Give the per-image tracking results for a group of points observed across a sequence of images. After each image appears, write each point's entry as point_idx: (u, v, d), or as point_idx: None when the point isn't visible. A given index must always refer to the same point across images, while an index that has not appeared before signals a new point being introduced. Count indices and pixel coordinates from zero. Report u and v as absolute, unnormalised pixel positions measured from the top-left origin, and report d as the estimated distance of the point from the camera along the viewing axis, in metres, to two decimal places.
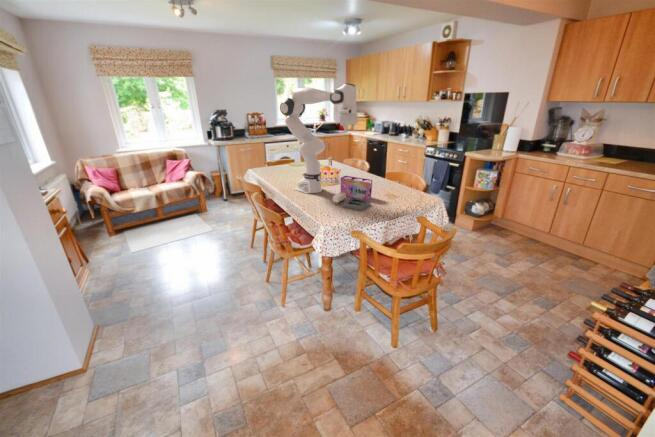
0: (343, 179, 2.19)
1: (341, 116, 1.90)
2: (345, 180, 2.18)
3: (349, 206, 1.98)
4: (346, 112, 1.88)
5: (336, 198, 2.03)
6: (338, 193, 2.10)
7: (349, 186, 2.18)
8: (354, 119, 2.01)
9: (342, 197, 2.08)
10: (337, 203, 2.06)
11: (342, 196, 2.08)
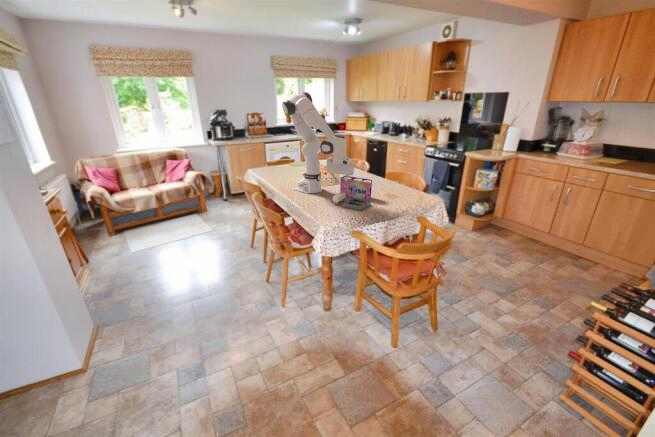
0: (343, 179, 2.19)
1: (351, 166, 1.94)
2: None
3: (349, 206, 1.98)
4: (352, 162, 1.96)
5: (336, 198, 2.03)
6: (338, 193, 2.10)
7: (349, 186, 2.18)
8: None
9: (342, 197, 2.08)
10: (337, 203, 2.06)
11: (342, 196, 2.08)
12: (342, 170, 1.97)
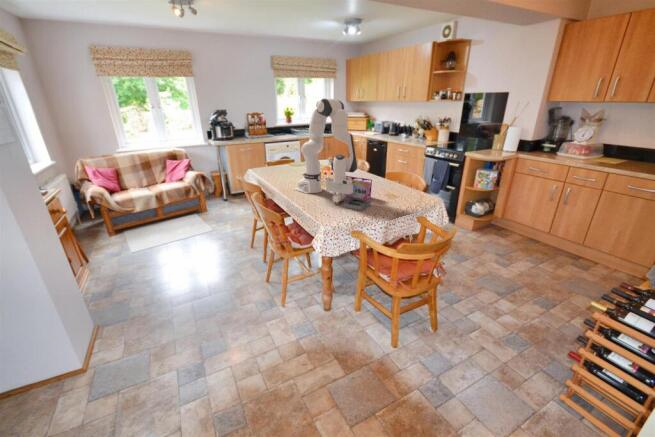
0: None
1: (350, 186, 1.99)
2: None
3: (349, 206, 1.98)
4: None
5: (336, 198, 2.03)
6: (338, 193, 2.10)
7: None
8: None
9: None
10: (337, 203, 2.06)
11: None
12: (342, 189, 2.03)
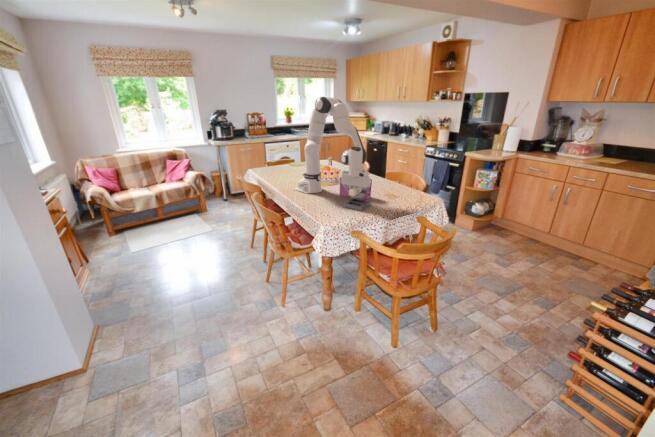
0: None
1: (367, 179, 1.92)
2: None
3: (349, 206, 1.98)
4: (368, 174, 1.93)
5: (352, 192, 1.96)
6: (354, 187, 2.02)
7: None
8: None
9: None
10: (353, 197, 1.99)
11: (358, 189, 2.01)
12: (358, 182, 1.95)
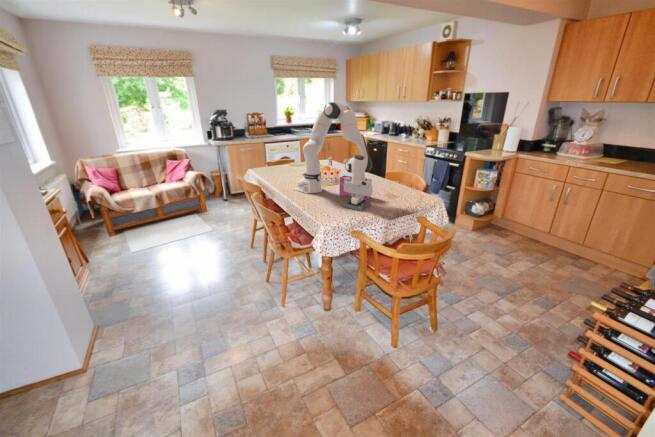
0: (342, 179, 2.19)
1: (370, 187, 1.92)
2: None
3: (349, 206, 1.98)
4: (371, 182, 1.94)
5: (355, 200, 1.96)
6: (356, 195, 2.03)
7: None
8: None
9: None
10: None
11: None
12: (361, 190, 1.95)
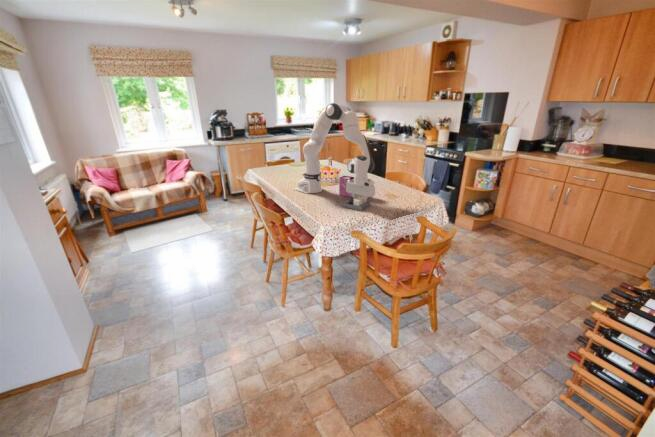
0: (342, 179, 2.19)
1: (372, 188, 1.91)
2: (344, 180, 2.18)
3: (349, 206, 1.98)
4: (373, 183, 1.93)
5: (357, 202, 1.96)
6: None
7: None
8: None
9: None
10: None
11: (363, 199, 2.01)
12: (363, 191, 1.94)
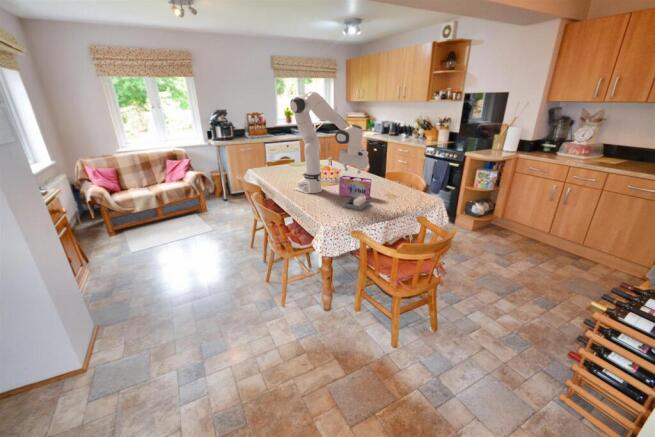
0: (342, 179, 2.19)
1: (366, 158, 1.87)
2: (344, 180, 2.18)
3: (349, 206, 1.98)
4: (367, 154, 1.89)
5: (357, 202, 1.96)
6: None
7: (348, 186, 2.18)
8: None
9: (363, 201, 2.01)
10: None
11: (363, 199, 2.01)
12: (357, 161, 1.91)
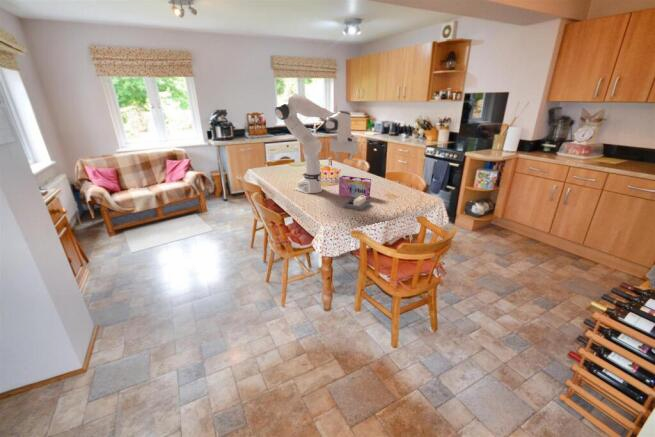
0: (342, 179, 2.19)
1: (356, 144, 1.87)
2: (344, 180, 2.18)
3: (349, 206, 1.98)
4: (357, 139, 1.89)
5: (357, 202, 1.96)
6: None
7: (348, 186, 2.18)
8: None
9: (363, 201, 2.01)
10: None
11: (363, 199, 2.01)
12: (347, 148, 1.90)
